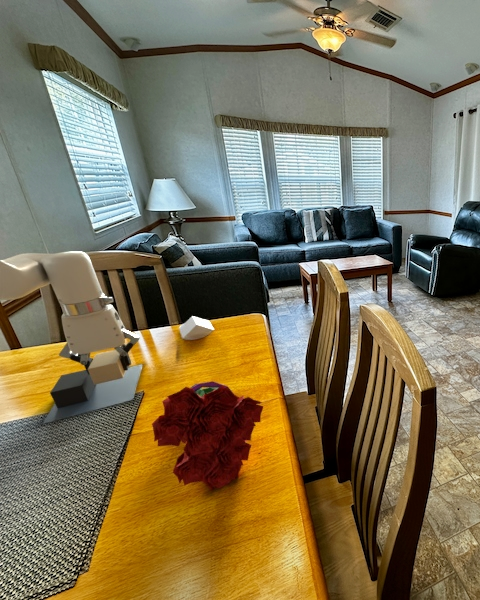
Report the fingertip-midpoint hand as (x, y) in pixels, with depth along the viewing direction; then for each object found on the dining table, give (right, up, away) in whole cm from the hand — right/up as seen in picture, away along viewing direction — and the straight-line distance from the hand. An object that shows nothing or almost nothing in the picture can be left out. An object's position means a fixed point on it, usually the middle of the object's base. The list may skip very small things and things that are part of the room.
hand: (111, 370), depth 82 cm
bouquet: (+33, -11, -14) cm, 37 cm away
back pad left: (-7, -6, -2) cm, 9 cm away
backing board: (-3, -6, 0) cm, 7 cm away
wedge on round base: (+4, +6, +29) cm, 30 cm away
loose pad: (0, -1, 0) cm, 1 cm away
